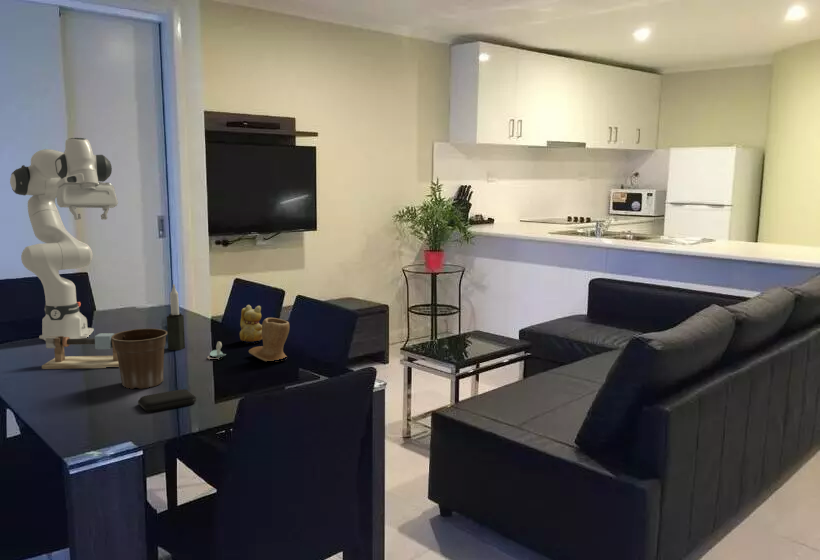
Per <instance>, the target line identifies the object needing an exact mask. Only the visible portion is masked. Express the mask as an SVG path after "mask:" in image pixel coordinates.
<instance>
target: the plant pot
mask: <svg viewBox="0 0 820 560" xmlns="http://www.w3.org/2000/svg"><path fill="white" fill-rule="evenodd" d="M167 336H168V334H167V330H165V329H160V328H134V329H129V330H125V331H124V330H123V331H120V332H116V333H114V335H112V337H111V339H112V340H113V342H114V346H115V350H116V352H117V357H118V363H119V368H118V369H119V374H120V379H121V380H120V381H121V385H123V386H124V387H123V388H125V387H126V389H129V388H130V390H131V389H132V390H134V389H135V388H137V389H140V390H141V389H142V390H143V389H150V388H153V387H156V386H158V385H161V384H162V383H163V382H164V365H165V363H164V362H165V360H164V359H165V346H166V340H167ZM149 387H150V388H149Z"/></svg>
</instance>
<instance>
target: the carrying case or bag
mask: <svg viewBox="0 0 820 560" xmlns="http://www.w3.org/2000/svg"><path fill="white" fill-rule="evenodd" d="M196 401H197V396H195V395H194V394H193V393H191V392H190V391H189V390H188V389H184V388H183V389H175V390H171V391H170V390H169V391H165V392H158V393H153V394H148V395H143V396H141V397H140V398H139V399H138V401H137V404H138V405H139V406H140V407H141V408H142V409H143V410H144V411H146V413H153V411H155V412H159V410H160V411H164V410H165V409H166V410H170V409H176V408H180V407H181V408H182V407H186V406H191V405H194V404H195V402H196Z"/></svg>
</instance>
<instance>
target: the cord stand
mask: <svg viewBox="0 0 820 560" xmlns="http://www.w3.org/2000/svg"><path fill="white" fill-rule="evenodd" d="M111 344H112V347H113V348H112V355H78V356H77V355H76V356H74V355H71V356H69V355H68V356H66V353H65V347H70V345H73V346H74V345H95V338H81V339H70V338H69V337H64V336H49V337H47V338H46V341H45V347H46V349H53V350H54V358H52V359H51V360H49V361H47V362H45V363H43V364H42V365H41V369H42V370H59V369H60V370H64V369H67V370H68V369H69V370H71V369H107V368H106V367H119V363H118V357H117V352H116V350H115V346H114V342H113V340H112V339H111Z"/></svg>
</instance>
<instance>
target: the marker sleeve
mask: <svg viewBox="0 0 820 560" xmlns="http://www.w3.org/2000/svg"><path fill="white" fill-rule="evenodd" d="M114 334H115V333H114V332H113V333H112V332H111V333H110V332H108V333H107V332H106V333H105V332H104V333H102V332H101V333H98V334H96V335H95V336H94V339H95V344H94V347H95V350H111V349H113V347H112V344H111V337H112V335H114Z"/></svg>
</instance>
